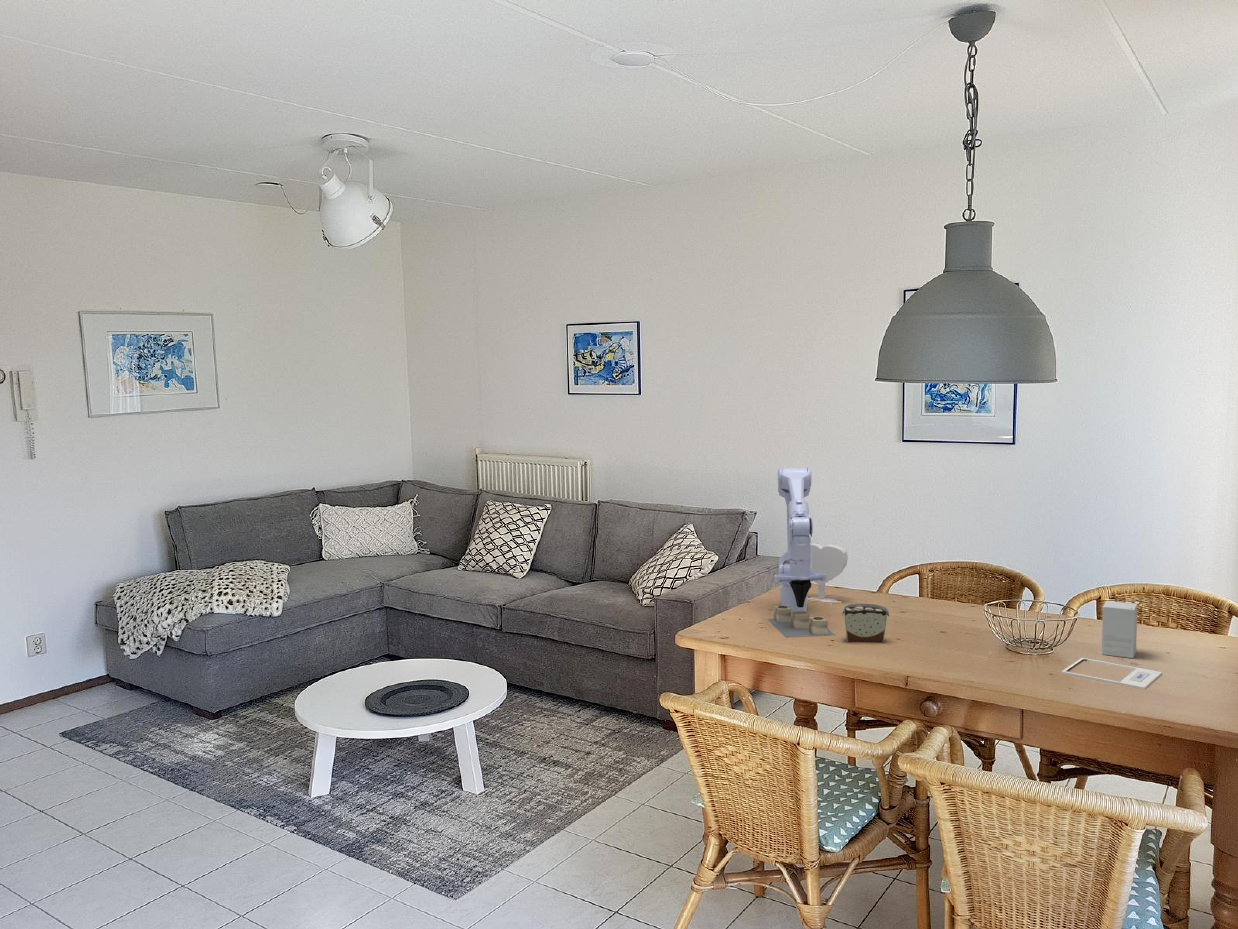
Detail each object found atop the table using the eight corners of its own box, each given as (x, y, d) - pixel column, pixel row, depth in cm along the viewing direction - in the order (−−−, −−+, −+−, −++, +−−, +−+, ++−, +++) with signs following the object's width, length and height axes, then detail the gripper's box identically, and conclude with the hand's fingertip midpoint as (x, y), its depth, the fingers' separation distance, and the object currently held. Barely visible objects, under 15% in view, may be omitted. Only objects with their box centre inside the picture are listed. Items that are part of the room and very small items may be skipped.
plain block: (791, 625, 271) (791, 611, 271) (804, 624, 272) (804, 610, 271) (795, 628, 267) (795, 615, 267) (809, 628, 268) (809, 614, 268)
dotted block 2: (808, 631, 265) (809, 616, 264) (822, 630, 265) (822, 616, 265) (813, 635, 261) (813, 620, 260) (827, 634, 261) (827, 619, 261)
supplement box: (1136, 651, 244) (1138, 603, 243) (1133, 659, 238) (1135, 609, 237) (1104, 647, 248) (1106, 599, 247) (1100, 654, 242) (1102, 605, 241)
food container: (885, 639, 259) (885, 603, 258) (889, 645, 253) (889, 608, 252) (838, 638, 260) (839, 602, 259) (841, 645, 254) (842, 608, 253)
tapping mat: (766, 621, 279) (766, 618, 279) (812, 619, 280) (812, 616, 280) (786, 640, 259) (786, 637, 259) (835, 638, 261) (835, 635, 261)
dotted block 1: (774, 619, 278) (774, 605, 278) (787, 618, 278) (787, 604, 278) (777, 622, 274) (777, 608, 274) (791, 622, 274) (791, 608, 274)
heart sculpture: (848, 601, 302) (848, 545, 300) (843, 604, 297) (844, 547, 296) (800, 596, 309) (800, 541, 307) (795, 599, 305) (795, 544, 303)
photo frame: (1144, 686, 215) (1061, 670, 228) (1144, 691, 216) (1061, 675, 228) (1162, 671, 226) (1081, 656, 238) (1161, 676, 226) (1081, 661, 238)
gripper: (779, 563, 263) (779, 611, 264) (829, 561, 265) (829, 608, 266) (772, 558, 270) (772, 605, 271) (821, 556, 272) (821, 602, 273)
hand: (800, 606), depth 269 cm, fingers closed
